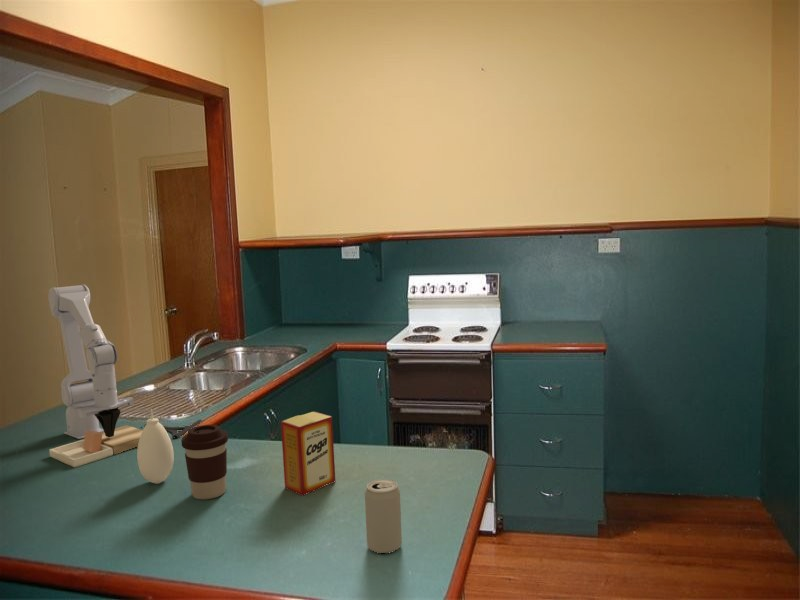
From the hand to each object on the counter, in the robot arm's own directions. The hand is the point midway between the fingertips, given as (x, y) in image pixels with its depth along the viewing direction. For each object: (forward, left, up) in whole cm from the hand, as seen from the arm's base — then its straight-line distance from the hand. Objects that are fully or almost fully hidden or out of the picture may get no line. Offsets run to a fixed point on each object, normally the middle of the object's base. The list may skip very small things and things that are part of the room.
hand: (109, 436), depth 176 cm
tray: (0, -8, -3) cm, 9 cm away
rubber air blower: (+34, -6, -3) cm, 35 cm away
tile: (0, -4, 0) cm, 4 cm away
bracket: (0, +17, -4) cm, 18 cm away
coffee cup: (+50, -3, -3) cm, 50 cm away
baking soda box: (+66, +13, -3) cm, 67 cm away
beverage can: (+98, +1, -3) cm, 98 cm away
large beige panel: (0, +3, -3) cm, 4 cm away
